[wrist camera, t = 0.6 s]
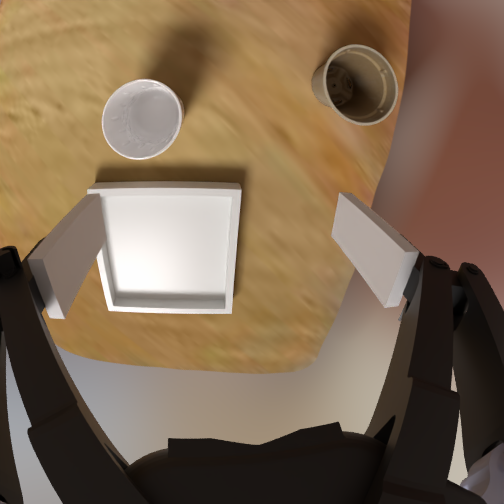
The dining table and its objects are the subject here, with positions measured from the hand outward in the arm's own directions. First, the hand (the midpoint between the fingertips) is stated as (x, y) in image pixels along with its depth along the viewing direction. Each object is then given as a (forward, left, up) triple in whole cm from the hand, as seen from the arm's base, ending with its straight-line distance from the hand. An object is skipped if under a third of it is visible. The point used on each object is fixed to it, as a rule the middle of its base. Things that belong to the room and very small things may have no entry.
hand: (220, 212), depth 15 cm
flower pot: (-10, +15, -23) cm, 29 cm away
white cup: (-4, -7, -23) cm, 25 cm away
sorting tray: (+15, -6, -23) cm, 28 cm away
